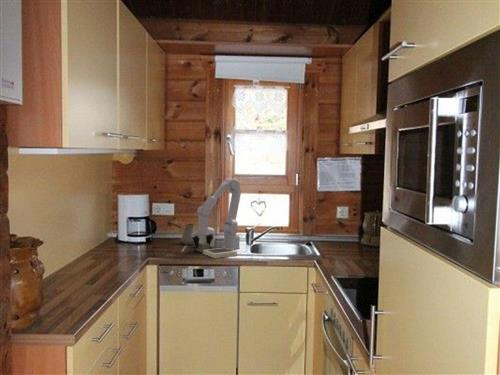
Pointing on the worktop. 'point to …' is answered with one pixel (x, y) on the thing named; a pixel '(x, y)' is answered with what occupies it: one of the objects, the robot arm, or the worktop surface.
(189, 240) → the coffee pot
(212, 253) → the stand
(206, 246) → the housing
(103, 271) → the worktop surface
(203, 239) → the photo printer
